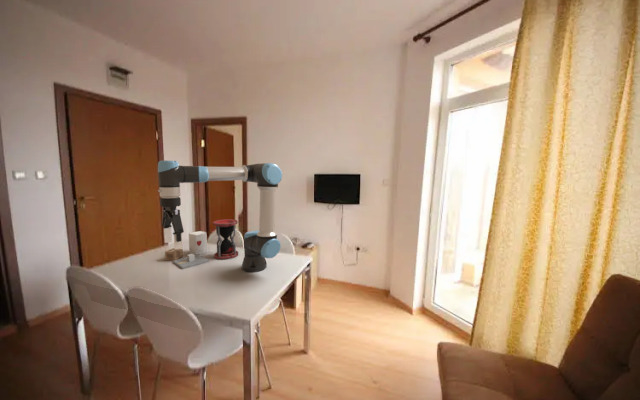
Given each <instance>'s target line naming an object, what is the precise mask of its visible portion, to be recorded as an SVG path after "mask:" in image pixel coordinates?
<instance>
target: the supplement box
mask: <svg viewBox="0 0 640 400" xmlns="http://www.w3.org/2000/svg"><path fill="white" fill-rule="evenodd" d="M207 238H208V236H207V232H206V231H202V230H199V231H193V232H189V233H188V248H189V253H188V254H194V256H195V255H201V254H205V253H208V242H207V241H208V239H207Z"/></svg>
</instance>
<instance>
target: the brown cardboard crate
mask: <svg viewBox="0 0 640 400" xmlns="http://www.w3.org/2000/svg"><path fill="white" fill-rule="evenodd" d="M164 254H165V255H164V256H165V257H164V258H165V261H171V262H173V261H174V260H178V259H183V258H184V252H183V248H181V249H176V250H175V247H174V248H171V249H168V250H165V251H164Z"/></svg>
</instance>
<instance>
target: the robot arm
mask: <svg viewBox="0 0 640 400" xmlns="http://www.w3.org/2000/svg"><path fill="white" fill-rule="evenodd" d="M157 178H158V187H159V189H158V190H157V192H158V193H159V197H160V198H159V205H160V207H161V208H162V219H161V226H162V228H163V237H164V243H165V244H167V243H172V242H173V241H174V243H173V244H174V248H175V250H176V249H183V233H184V226H183V222H182V217H181V210H180V209H177V207H180V206H181V205H182V204H181V203H182V202H181V199H182V198H181V185H180V184H184V183H185V184H188V183H189V184H190V183H191V184H193V183H195V184H196V183H197V184H198V183H199V184H201V183H207V182H215V181H216V182H217V181H218V182H219V181H220V182H221V181H242V182H246V183H256V187H257V188H258V189H259V220H258V221H259V226H258V227H259V228H258V229H259V230H251V231H247V232H245V233H244V234H243V246H244V248H243V249H244V257H243V261H242V264H241V270H242V271H244V272H248V273H255V272H256V273H257V272H260V271H261V272H262V271H263V270H265V269H267V268H268V267H267V266H268V264H267V260H266V259H273V258H275V257H276V256H277V255H278V254H279V253H280V250H281V247H282V245H281V242H280V240H279V239H278V233H277V232H276V231H275V220H276V219H275V218H276V214H275V213H276V190H277V189H278V188H279V183H281V181H282V178H283V173H282V169H281V168H280V167H279V165H277V164H276V163H271V162H266V163H264V162H263V163H254V164H242V165H241V166H203V165H180V164H179V161H178V160H159V161H158V164H157ZM172 229H173V232H172ZM172 235H173V239H172Z"/></svg>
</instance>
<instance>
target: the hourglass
mask: <svg viewBox="0 0 640 400" xmlns="http://www.w3.org/2000/svg"><path fill="white" fill-rule="evenodd" d="M237 224H238V220H237V219H234V218H233V219H218V220H214V221H213V222H212V225H213V226H215V230H216V236H217V239H218V240H217V242H216V252H215V253H214V254H213V256H214V259H216V260H231V259H234V258H236V257H238V256H239V251H238V250H237V248H236V242H235V239H234V238H235V236H236V225H237ZM222 238H223V240H222Z"/></svg>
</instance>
